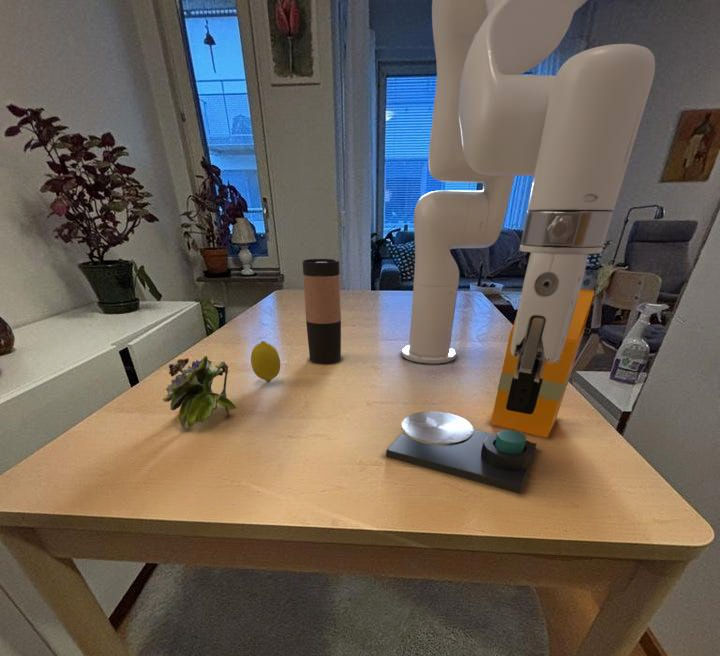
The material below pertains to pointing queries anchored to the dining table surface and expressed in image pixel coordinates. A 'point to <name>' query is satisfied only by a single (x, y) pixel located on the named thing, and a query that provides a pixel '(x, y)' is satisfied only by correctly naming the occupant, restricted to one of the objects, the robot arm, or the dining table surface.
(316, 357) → the travel mug
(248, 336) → the dining table surface
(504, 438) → the tare button
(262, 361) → the lemon
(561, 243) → the robot arm
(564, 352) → the orange juice
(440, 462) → the scale
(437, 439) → the scale pan
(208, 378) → the purple flowering plant
